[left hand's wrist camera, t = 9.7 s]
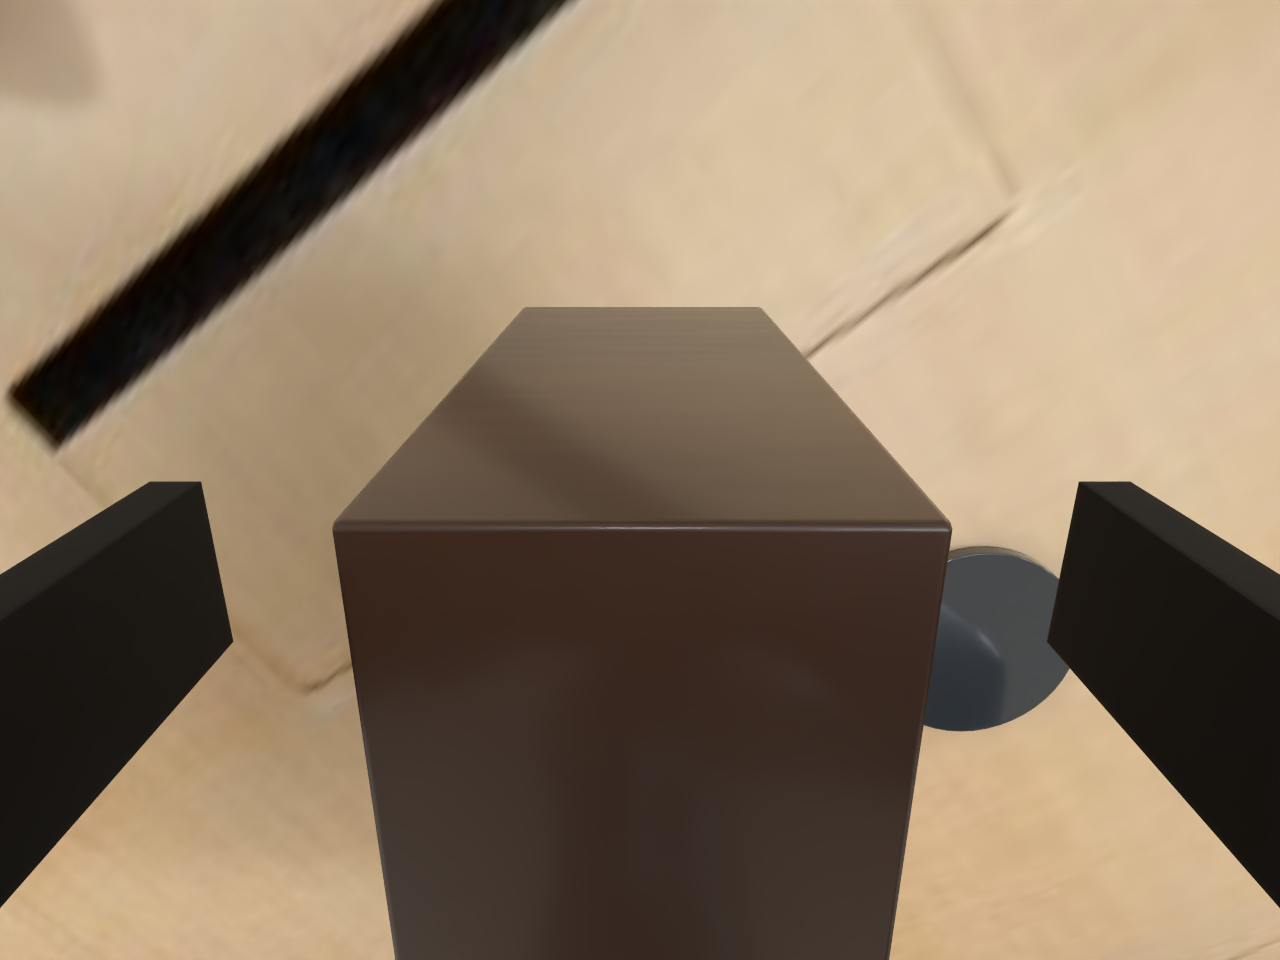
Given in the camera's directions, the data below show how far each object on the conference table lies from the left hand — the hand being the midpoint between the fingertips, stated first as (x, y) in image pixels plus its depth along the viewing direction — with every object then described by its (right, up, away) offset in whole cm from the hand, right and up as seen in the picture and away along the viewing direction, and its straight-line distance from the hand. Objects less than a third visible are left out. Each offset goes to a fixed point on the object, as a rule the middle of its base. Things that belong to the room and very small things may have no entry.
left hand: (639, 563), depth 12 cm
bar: (0, -8, +6) cm, 10 cm away
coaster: (+13, -5, +20) cm, 24 cm away
